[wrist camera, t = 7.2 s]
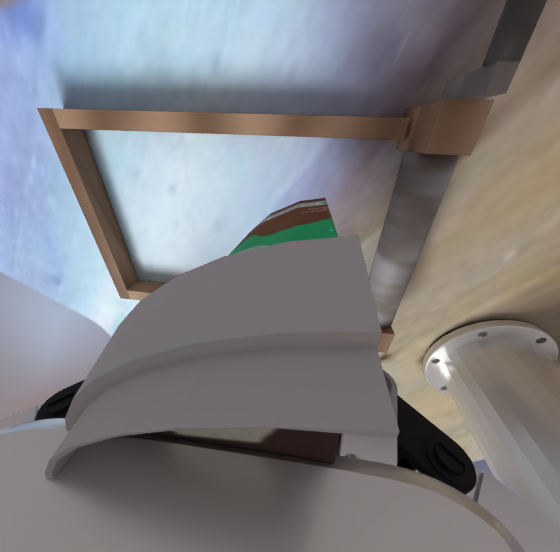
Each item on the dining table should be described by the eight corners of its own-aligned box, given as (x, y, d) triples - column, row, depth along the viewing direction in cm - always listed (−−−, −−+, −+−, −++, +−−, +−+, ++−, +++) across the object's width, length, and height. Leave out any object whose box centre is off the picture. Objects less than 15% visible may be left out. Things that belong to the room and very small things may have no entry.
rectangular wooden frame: (469, 48, 14) (593, -21, 8) (377, 316, 25) (397, 373, 19) (38, 48, 16) (-124, -3, 10) (133, 292, 28) (84, 335, 22)
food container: (190, 169, 10) (-311, 332, 2) (326, 161, 10) (424, 388, 1) (236, 348, 17) (162, 557, 9) (318, 352, 16) (324, 590, 8)
